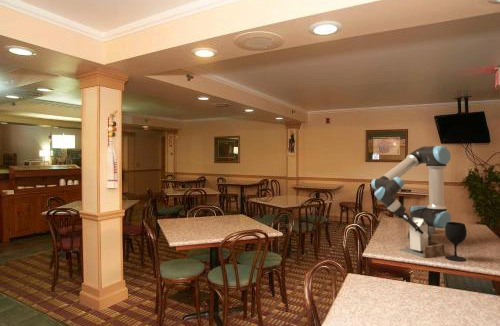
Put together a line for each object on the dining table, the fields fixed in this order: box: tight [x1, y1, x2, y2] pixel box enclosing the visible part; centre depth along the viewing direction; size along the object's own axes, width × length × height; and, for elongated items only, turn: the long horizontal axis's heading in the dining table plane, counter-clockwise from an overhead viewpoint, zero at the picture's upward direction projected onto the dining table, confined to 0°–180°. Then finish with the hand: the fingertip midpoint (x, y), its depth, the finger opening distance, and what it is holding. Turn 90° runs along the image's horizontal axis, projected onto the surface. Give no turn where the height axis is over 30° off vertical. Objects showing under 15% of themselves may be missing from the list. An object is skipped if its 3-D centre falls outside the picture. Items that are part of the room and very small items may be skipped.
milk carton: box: [408, 217, 428, 251], centre depth 198 cm, size 7×7×19 cm
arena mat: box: [399, 247, 424, 258], centre depth 198 cm, size 15×16×1 cm
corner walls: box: [422, 240, 445, 259], centre depth 198 cm, size 16×19×6 cm
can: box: [429, 226, 436, 235], centre depth 247 cm, size 11×11×12 cm
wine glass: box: [444, 221, 467, 263], centre depth 184 cm, size 10×10×20 cm
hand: (424, 235), depth 197 cm, fingers closed on milk carton, 10 cm apart
